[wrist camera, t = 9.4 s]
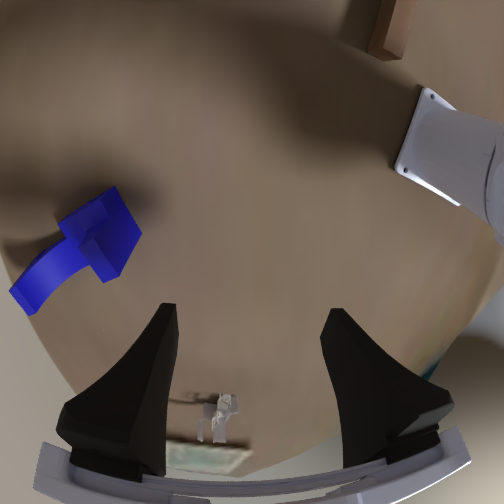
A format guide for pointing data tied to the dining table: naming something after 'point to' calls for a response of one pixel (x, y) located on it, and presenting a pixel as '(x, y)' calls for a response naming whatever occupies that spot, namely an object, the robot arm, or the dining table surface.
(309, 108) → the dining table surface
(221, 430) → the architectural model
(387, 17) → the frame
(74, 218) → the blue curved piece
